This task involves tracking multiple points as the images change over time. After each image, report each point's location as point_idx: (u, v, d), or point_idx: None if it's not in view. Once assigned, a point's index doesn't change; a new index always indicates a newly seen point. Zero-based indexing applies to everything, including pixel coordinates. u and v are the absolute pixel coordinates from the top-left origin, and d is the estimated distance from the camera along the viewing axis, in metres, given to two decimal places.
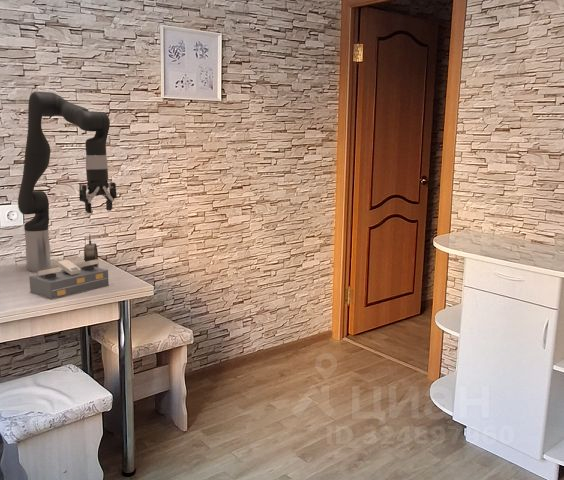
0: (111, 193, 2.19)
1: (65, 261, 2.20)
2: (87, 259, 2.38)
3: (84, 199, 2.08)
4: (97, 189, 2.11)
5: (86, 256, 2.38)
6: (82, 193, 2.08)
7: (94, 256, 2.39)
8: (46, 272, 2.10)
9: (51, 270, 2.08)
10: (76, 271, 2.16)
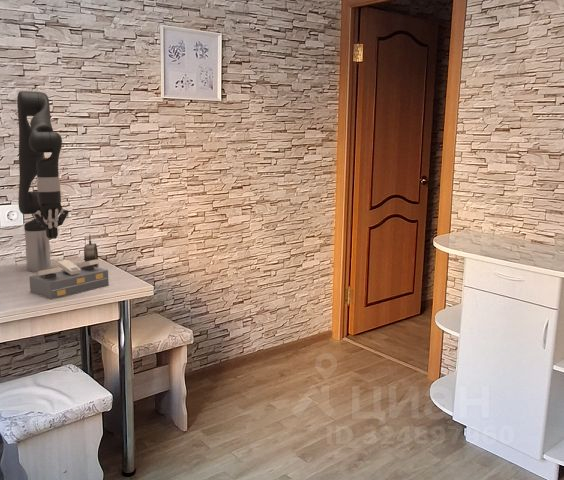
0: (58, 220, 2.09)
1: (65, 261, 2.20)
2: (87, 259, 2.38)
3: (44, 225, 2.03)
4: (50, 212, 2.04)
5: (86, 256, 2.38)
6: (39, 221, 2.02)
7: (94, 256, 2.39)
8: (46, 272, 2.10)
9: (51, 270, 2.08)
10: (76, 271, 2.16)
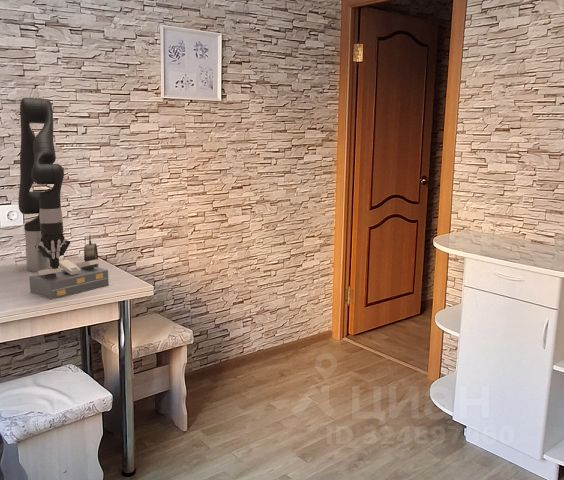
0: (60, 250, 2.11)
1: (65, 261, 2.20)
2: (87, 259, 2.38)
3: (48, 255, 2.06)
4: (52, 243, 2.06)
5: (86, 256, 2.38)
6: (42, 252, 2.04)
7: (94, 256, 2.39)
8: (46, 272, 2.10)
9: (51, 270, 2.08)
10: (76, 271, 2.16)
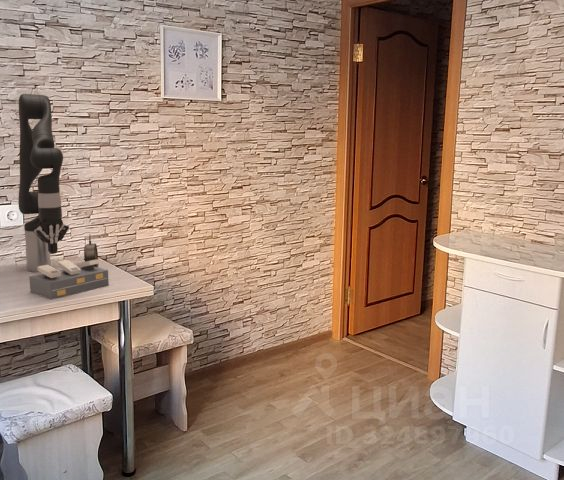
0: (58, 235, 2.10)
1: (65, 261, 2.20)
2: (87, 259, 2.38)
3: (46, 240, 2.05)
4: (51, 228, 2.05)
5: (86, 256, 2.38)
6: (41, 237, 2.03)
7: (94, 256, 2.39)
8: (46, 274, 2.10)
9: (52, 275, 2.08)
10: (76, 271, 2.16)
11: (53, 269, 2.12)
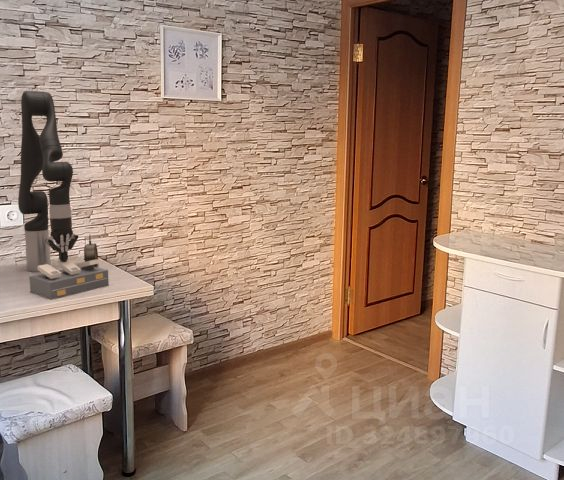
0: (69, 244, 2.22)
1: None
2: (87, 259, 2.38)
3: (57, 249, 2.16)
4: (62, 237, 2.16)
5: (86, 256, 2.38)
6: (52, 246, 2.15)
7: (94, 256, 2.39)
8: (46, 274, 2.10)
9: (52, 276, 2.08)
10: (76, 271, 2.16)
11: (53, 269, 2.12)
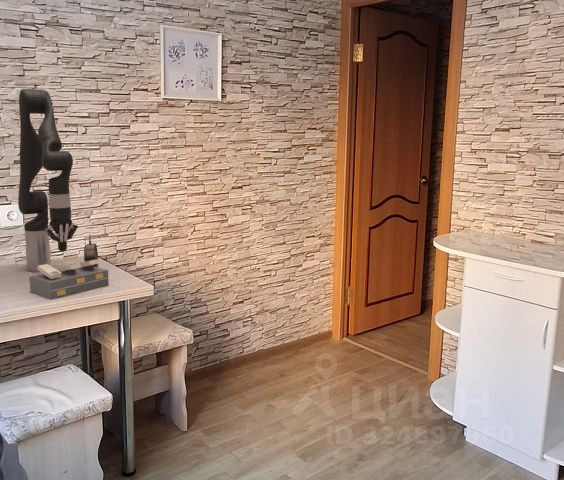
0: (68, 234, 2.21)
1: None
2: (87, 259, 2.38)
3: (56, 239, 2.15)
4: (61, 227, 2.15)
5: (86, 256, 2.38)
6: (51, 236, 2.14)
7: (94, 256, 2.39)
8: (46, 274, 2.10)
9: (52, 276, 2.08)
10: (75, 265, 2.16)
11: (53, 269, 2.12)
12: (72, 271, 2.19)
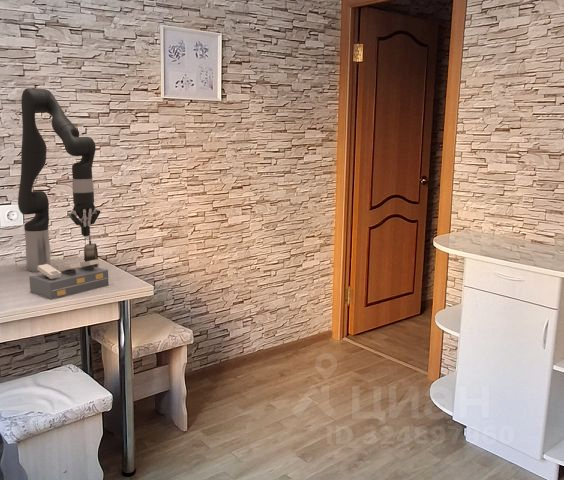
0: (91, 219, 2.24)
1: None
2: (87, 259, 2.38)
3: (80, 223, 2.18)
4: (84, 212, 2.18)
5: (86, 256, 2.38)
6: (75, 220, 2.17)
7: (94, 256, 2.39)
8: (46, 274, 2.10)
9: (52, 276, 2.08)
10: (75, 264, 2.16)
11: (53, 269, 2.12)
12: (72, 271, 2.19)
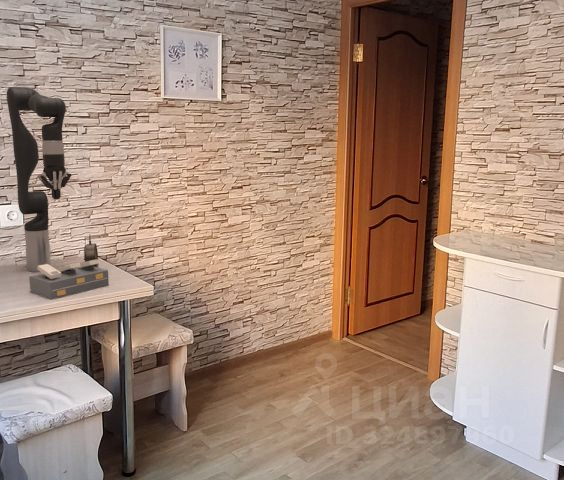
0: (61, 182, 2.22)
1: None
2: (87, 259, 2.38)
3: (50, 185, 2.17)
4: (54, 174, 2.16)
5: (86, 256, 2.38)
6: (45, 182, 2.15)
7: (94, 256, 2.39)
8: (46, 274, 2.10)
9: (52, 276, 2.08)
10: (75, 264, 2.16)
11: (53, 269, 2.12)
12: (72, 271, 2.19)
